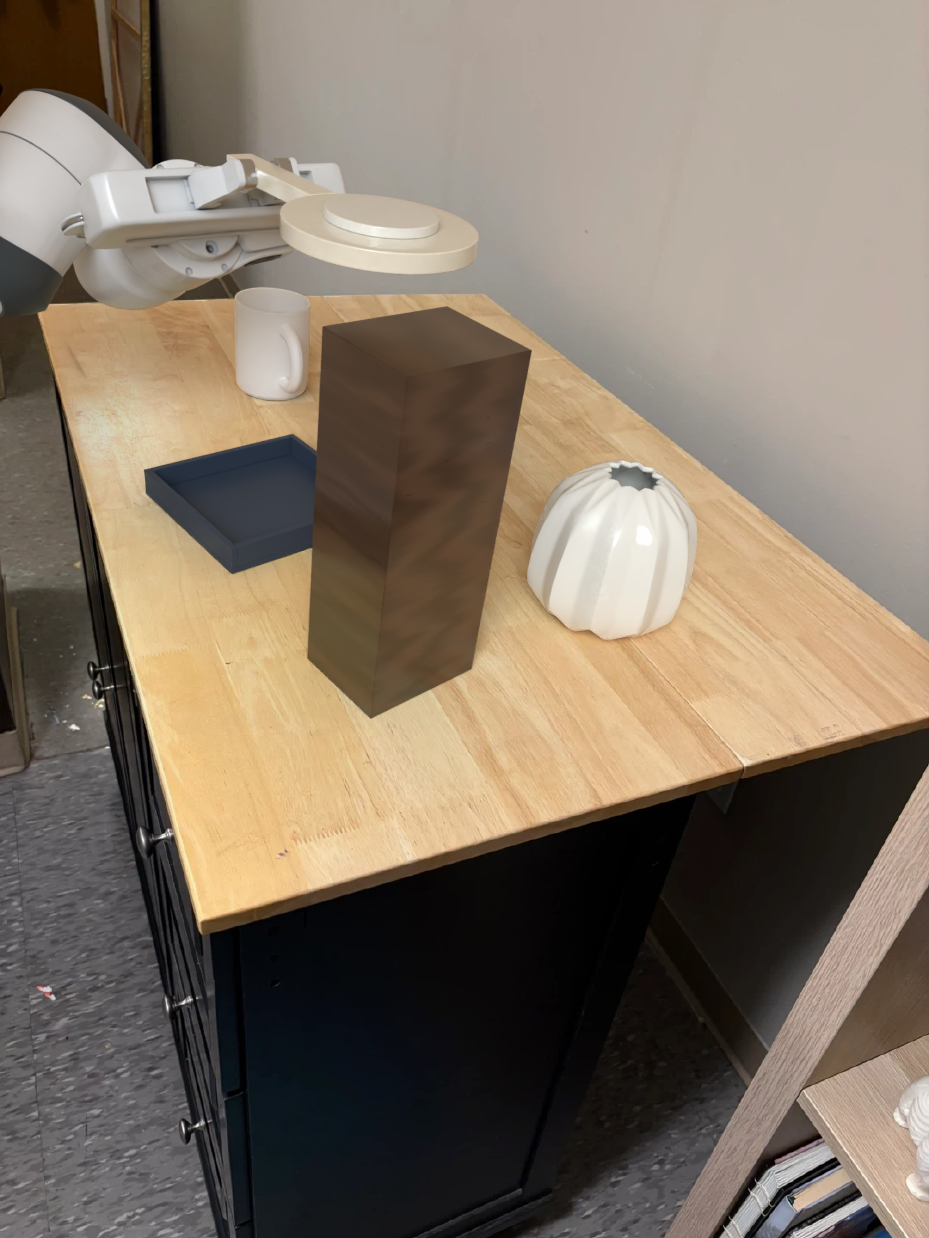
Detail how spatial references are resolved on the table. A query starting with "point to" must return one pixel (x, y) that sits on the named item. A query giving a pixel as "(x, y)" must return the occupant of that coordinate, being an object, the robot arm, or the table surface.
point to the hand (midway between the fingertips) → (269, 170)
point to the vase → (614, 550)
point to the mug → (271, 342)
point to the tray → (242, 500)
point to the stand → (408, 498)
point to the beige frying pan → (366, 227)
